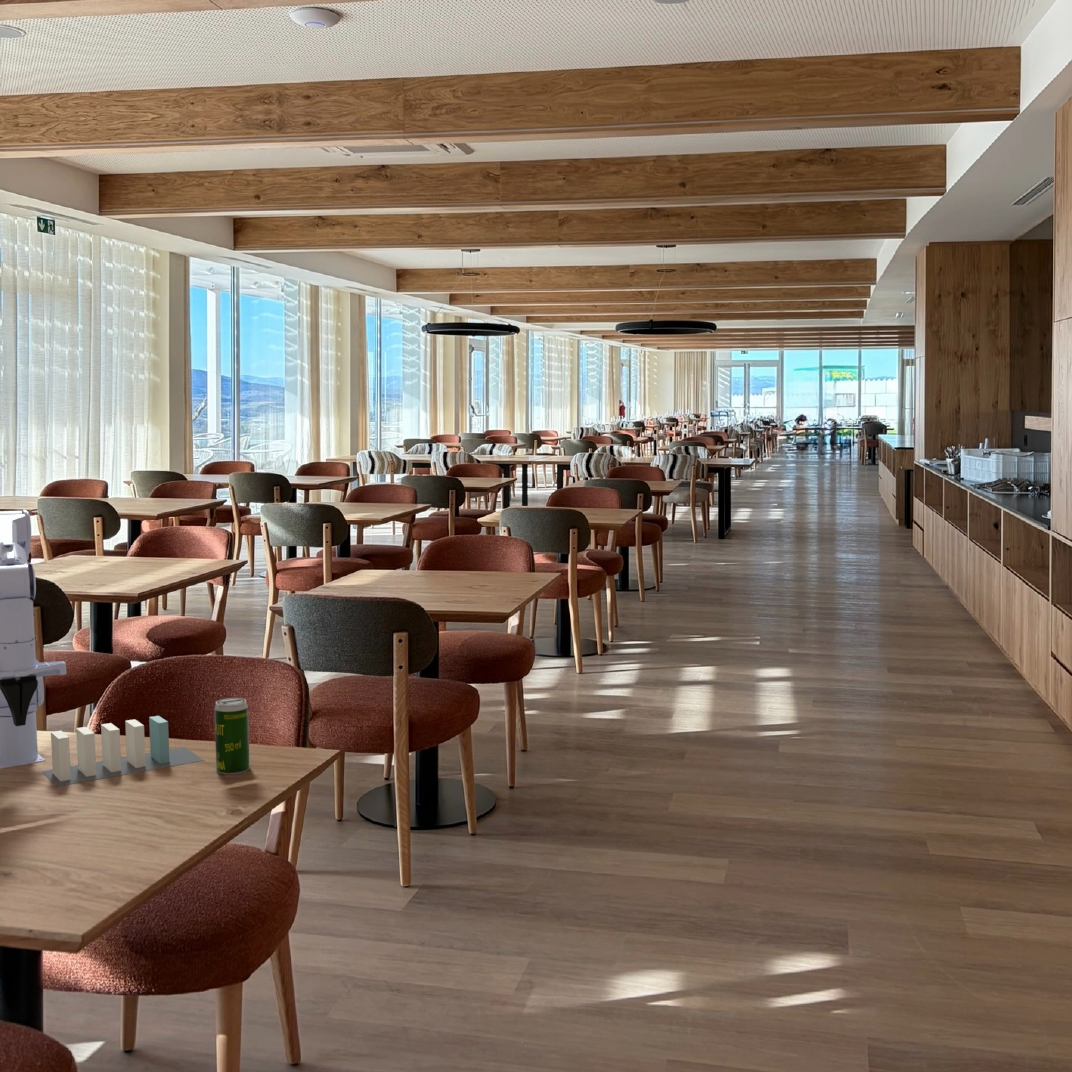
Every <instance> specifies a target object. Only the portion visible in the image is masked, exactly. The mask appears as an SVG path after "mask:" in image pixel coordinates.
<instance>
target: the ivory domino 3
mask: <svg viewBox="0 0 1072 1072" xmlns="http://www.w3.org/2000/svg"><path fill="white" fill-rule="evenodd" d="M100 729H101V731H100V732H101V746H102V747H101V748H102V749H101V753H102V757H101V758H102V761H103V766H105V767H106V768H107V769H108V770H109V771H110V772H116V771H121V758H122V757H121V756H122V755H121V754H122V753H121V733H120V732H121V731H120V728H118V727H117V726H116V725H114V724H113V723H112V722H109V723H101V724H100Z"/></svg>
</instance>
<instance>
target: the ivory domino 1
mask: <svg viewBox="0 0 1072 1072" xmlns="http://www.w3.org/2000/svg"><path fill="white" fill-rule="evenodd" d="M50 741H51V762H52V769H53V774H54V775H55V776H56V777H57V778H58V779H59V780H60V781H65V780H71V770H70V766H71V758H70V757H71V753H70V736H68V735H67V734H66V733H65V732H63V730H56V731H50Z"/></svg>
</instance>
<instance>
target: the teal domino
mask: <svg viewBox="0 0 1072 1072" xmlns="http://www.w3.org/2000/svg"><path fill="white" fill-rule="evenodd" d="M148 718H149V719H148V724H149V746H150V753H151V757H152V758H153V759H154V760H156V761H157V762H158V763H160V764H162V763H167V762H170V760H169V750H170V739H169V738H170V737H169V736H170V735H169V721H168V720H166V719H164V718H163V717H161V716H160V715H155V716H149V717H148Z"/></svg>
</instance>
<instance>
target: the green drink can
mask: <svg viewBox="0 0 1072 1072" xmlns="http://www.w3.org/2000/svg"><path fill="white" fill-rule="evenodd" d="M249 728H250V727H249V706H248V703H247V700H246V698H242V697H240V698H239V697H229V698H228V697H227V698H223V699H222V698H221V699H219V700H216V701H215V707H214V734H215V735H214V736H215V737H214V738H215V740H214V741H215V764H216V765H215V766H216V767H215V768H216V769H215V770H216V772H217V773H218V774H221V775H238V774H242V773H243V774H244V773H245V772H248V771H250V768H251V765H250V763H251V762H250V758H251V757H250V731H249V730H250V729H249Z"/></svg>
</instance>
